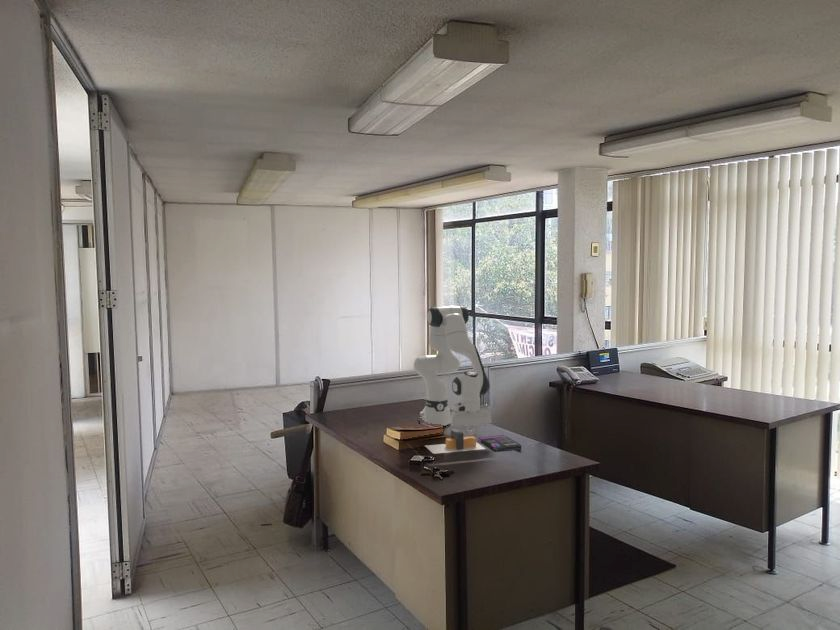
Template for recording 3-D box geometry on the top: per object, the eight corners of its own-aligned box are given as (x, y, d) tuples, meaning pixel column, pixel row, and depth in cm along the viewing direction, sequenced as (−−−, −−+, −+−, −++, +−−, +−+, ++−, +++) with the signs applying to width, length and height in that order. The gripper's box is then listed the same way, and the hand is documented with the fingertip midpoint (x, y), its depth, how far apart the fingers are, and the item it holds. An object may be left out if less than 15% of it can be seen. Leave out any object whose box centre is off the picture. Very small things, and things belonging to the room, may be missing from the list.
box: (478, 444, 303) (494, 454, 284) (478, 437, 303) (494, 447, 284) (504, 441, 307) (521, 451, 289) (504, 434, 307) (521, 444, 288)
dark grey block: (450, 444, 296) (450, 429, 295) (456, 443, 296) (456, 428, 296) (457, 449, 287) (457, 434, 286) (463, 448, 287) (463, 433, 287)
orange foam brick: (445, 446, 292) (445, 438, 292) (472, 444, 296) (473, 436, 296) (448, 449, 288) (448, 440, 288) (476, 446, 292) (476, 438, 292)
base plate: (424, 447, 294) (424, 445, 294) (474, 443, 302) (474, 441, 302) (433, 455, 281) (433, 453, 281) (486, 451, 288) (486, 448, 288)
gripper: (488, 403, 298) (488, 431, 299) (448, 405, 292) (448, 434, 293) (493, 405, 292) (493, 434, 293) (453, 408, 286) (453, 437, 287)
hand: (470, 434), depth 293 cm, fingers closed
